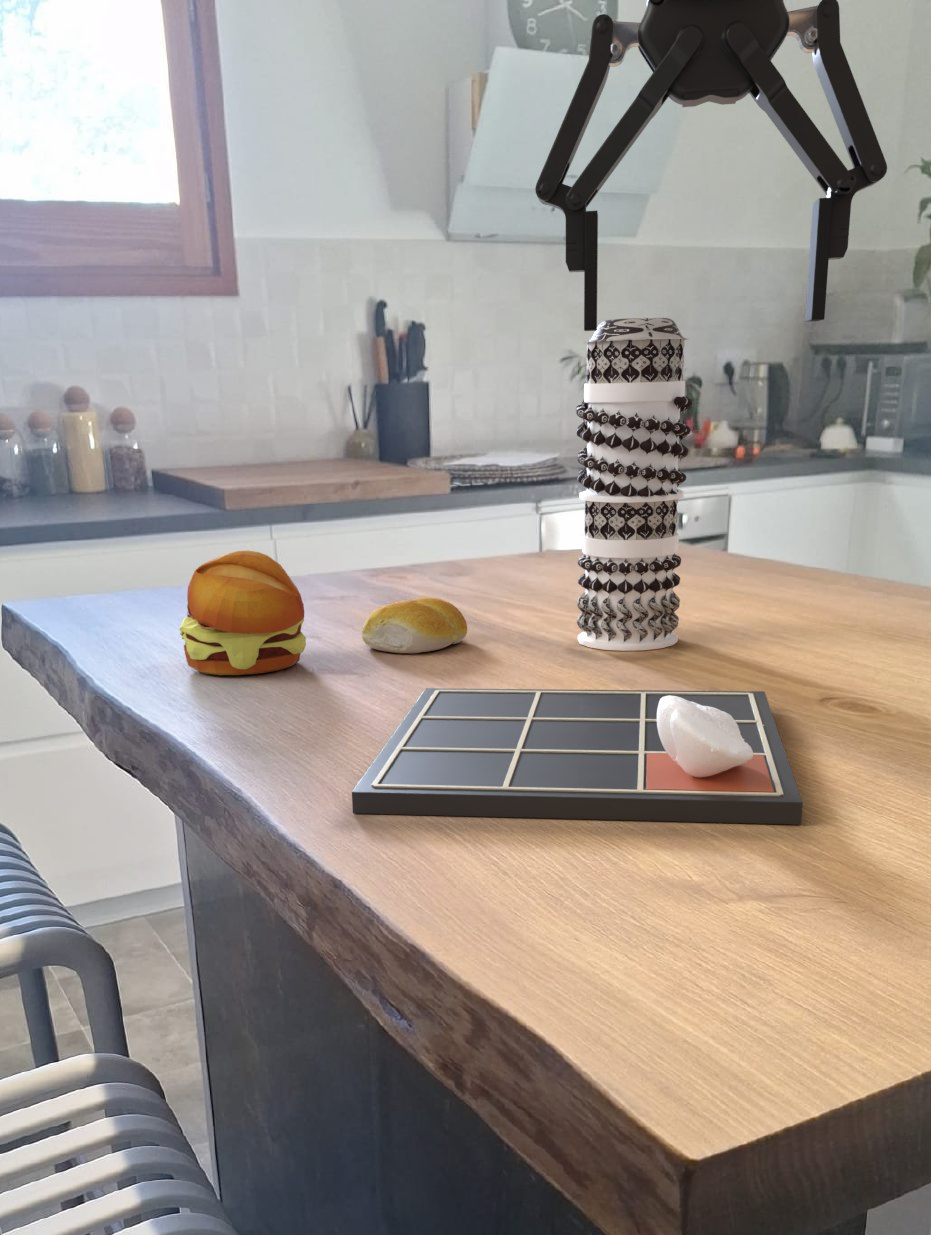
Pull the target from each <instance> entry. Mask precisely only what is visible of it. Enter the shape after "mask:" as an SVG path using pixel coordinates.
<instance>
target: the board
mask: <svg viewBox="0 0 931 1235" xmlns="http://www.w3.org/2000/svg"><path fill="white" fill-rule="evenodd" d="M669 695H671V696H677V697H681V698H683V699H686V700H688V701H691V702H695V703H697V704H700V705H702V706H709V707H714V708H717V709H719V710H721V711H724V712H726V713H728V714H730V715H731V716H732V718H733V719H734V720H735V722H736V723H737V725H738V727H739V730H740V734H741V736H742V738H743V739H744V742H746V743H748V745H749V746H750V747H751V749H752V751H753V757H752V759H751V760H749V761H748V762H747V763H744V764H743V765H741V766H737V767H736V766H735V767H732V768H731V769H728V770H726V771H723V772H720V773H718V774H715V775H712V776H708V777H694V776H691V775H689V774H688V773H686V772H685V771H684V770H683V769H682V767H681V766H680V765H679V764H677V762H676V761H674V760H673V759H672V758H671V757H670V756H669V755H668V754H667V753H666V750H665V749H664V747H663V745H662V742H661V740H660V737H659V733H658V728H657V708H658V704H659V701H660V699H661V698H662V697H665V696H669ZM763 725H764V726H763ZM787 755H788V754H787V753H786V750H785V747H784V744H783V741H782V738H781V735H780V732H779V730H778V726H777V724H776V721H775V717H774V715H773V712H772V708H771V706H770V703H769V701H768V697H767V695H766V692H765V691H764V690H763V691H759V690H758V691H757V690H755V691H753V690H752V691H751V690H741V691H740V690H663V689H661V690H659V689H658V690H657V689H656V690H654V689H652V690H651V689H648V690H647V689H646V690H645V689H644V690H643V689H557V688H556V689H553V688H552V689H549V688H548V689H547V688H545V689H544V688H543V689H542V688H541V689H539V688H537V689H536V688H534V689H533V688H450V687H449V688H447V687H446V688H443V687H442V688H441V687H440V688H436V687H435V688H433V687H425V689H424V690H423V691H422V693H421V694H420V696H419V697H418V698H417V700H416V701H415V703H414V704H413V705H412V707H411V708H410V710H409V711H408V713H407V714H406V715H405V717H404V718H403V720H402V721H401V722H400V724H399V725H398V726H397V728H396V729H395V731H394V732H393V734H392V735H391V737H390V738H389V739H388V741H387V742H386V743H385V745H384V746H383V748H382V749H381V751H380V752H379V753H378V755H377V756H376V757H375V759H374V760H373V762H372V763H371V765H370V766H369V767H368V769H367V770H366V772H365V773H364V774H363V775H362V777H361V778H360V780H359V781H358V782H357V783H356V784H357V785H355V787H354V789H352V791H351V802H352V803H351V804H352V813H353V814H366V815H367V814H368V815H403V816H405V815H406V816H443V817H481V818H484V817H486V818H487V817H488V818H518V819H519V818H523V819H525V818H527V819H559V820H560V819H561V820H602V821H603V820H604V821H636V822H637V821H638V822H639V821H640V822H678V823H679V822H680V823H716V824H717V823H718V824H719V823H721V824H757V825H758V824H759V825H795V826H796V825H798V826H800V825H801V824H802V817H803V805H804V803H803V800H802V796H801V794H800V791H799V788H798V784H797V782H796V778H795V776H794V773H793V770H792V767H791V765H790V762H789V759H788V756H787Z"/></svg>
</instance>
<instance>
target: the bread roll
mask: <svg viewBox="0 0 931 1235" xmlns="http://www.w3.org/2000/svg"><path fill="white" fill-rule="evenodd" d="M467 634H468V624H467V620H466V618H465V617H464V615H463V613H462V611H460V610H459V608H458V607H456V606H455V605H454V604H453V603H451V602H449V601H448V600H445V599H442V598H439V597H433V596H420V597H416V598H413V599H409V600H399V601H394V602H390V603H387V604H385V605H382V606H379V607H377V608H376V609H374V610H372V612H370V613H369V615H368V617H367V618H366V620H365V621H364V624H363V626H362V630H361V639H362V641H363V642H364V643H365V645H366V646H367V647H369V648H371V649H373V650H376V651H379V652H387V653H393V654H394V653H395V654H421V653H428V652H433V651H438V650H442V649H445V648H447V647H449V646H450V645H455V644H459V643H461V642H462V641H463V640H464V639H465V637H466V636H467Z"/></svg>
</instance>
